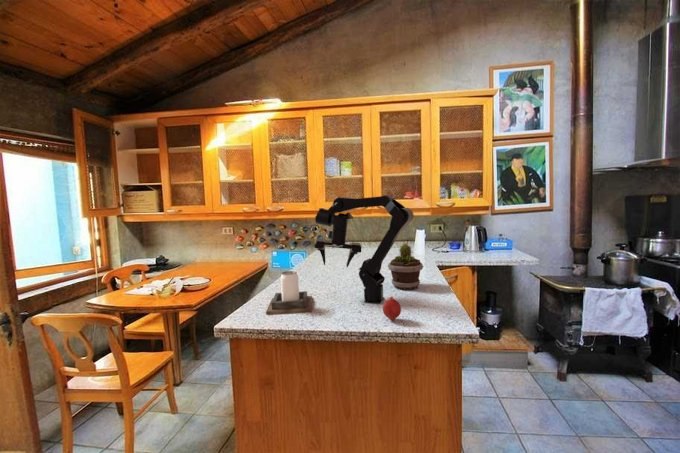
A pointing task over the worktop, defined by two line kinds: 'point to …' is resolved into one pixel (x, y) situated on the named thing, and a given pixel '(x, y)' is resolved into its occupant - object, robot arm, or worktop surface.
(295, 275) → the can
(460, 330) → the worktop surface
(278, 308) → the socket
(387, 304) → the onion
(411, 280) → the flowerpot
